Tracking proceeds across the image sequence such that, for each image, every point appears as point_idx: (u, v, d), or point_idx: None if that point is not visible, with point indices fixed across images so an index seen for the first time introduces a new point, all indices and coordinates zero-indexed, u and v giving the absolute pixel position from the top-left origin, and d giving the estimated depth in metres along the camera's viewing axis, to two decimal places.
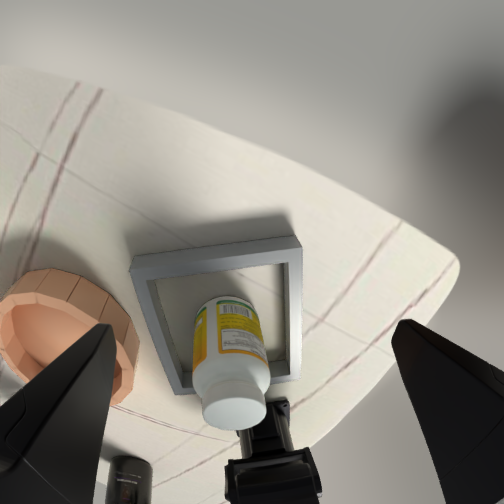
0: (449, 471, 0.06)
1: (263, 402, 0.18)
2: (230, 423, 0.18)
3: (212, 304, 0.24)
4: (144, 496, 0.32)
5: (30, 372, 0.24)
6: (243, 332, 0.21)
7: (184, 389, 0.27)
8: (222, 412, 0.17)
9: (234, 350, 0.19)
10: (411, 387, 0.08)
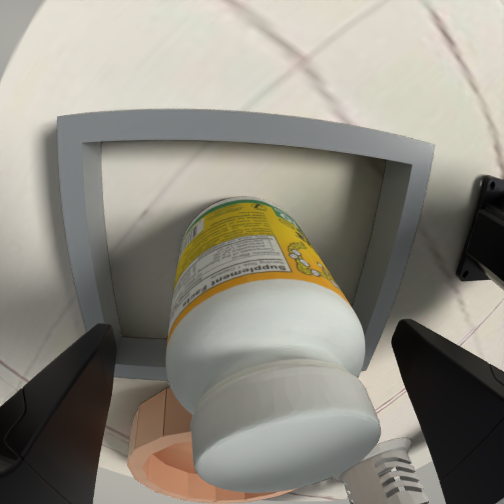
0: (449, 471, 0.06)
1: (269, 408, 0.05)
2: (328, 464, 0.06)
3: None
4: None
5: None
6: (180, 280, 0.09)
7: None
8: (263, 477, 0.06)
9: (167, 343, 0.08)
10: (411, 387, 0.08)
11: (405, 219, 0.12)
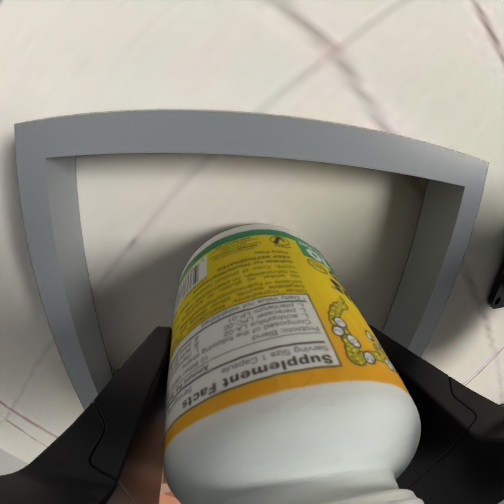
0: None
1: None
2: None
3: None
4: None
5: None
6: (178, 353, 0.06)
7: None
8: None
9: (163, 444, 0.05)
10: None
11: (451, 251, 0.09)
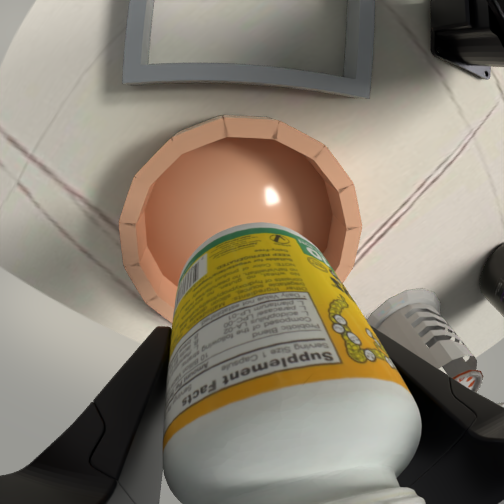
0: None
1: None
2: None
3: None
4: None
5: None
6: (177, 351, 0.06)
7: (359, 78, 0.15)
8: None
9: (163, 442, 0.05)
10: None
11: None
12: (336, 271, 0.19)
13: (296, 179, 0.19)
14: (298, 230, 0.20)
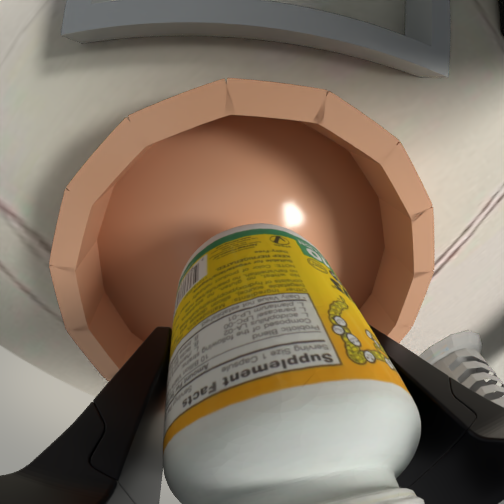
0: None
1: None
2: None
3: None
4: None
5: None
6: (178, 352, 0.06)
7: (435, 46, 0.08)
8: None
9: (163, 444, 0.05)
10: None
11: None
12: (389, 334, 0.12)
13: (338, 194, 0.12)
14: (334, 271, 0.13)
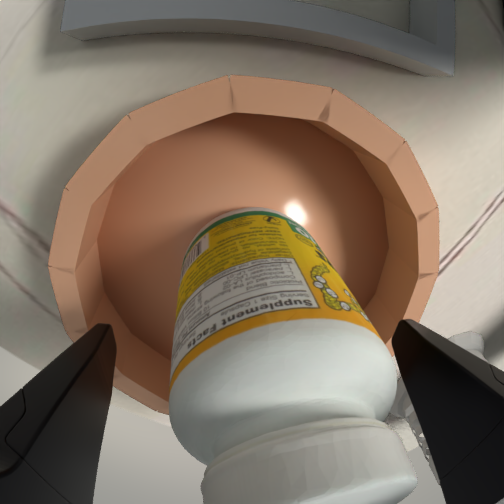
0: (449, 471, 0.06)
1: (300, 486, 0.03)
2: None
3: None
4: None
5: None
6: (183, 310, 0.08)
7: (440, 44, 0.08)
8: None
9: (170, 387, 0.06)
10: (411, 387, 0.08)
11: None
12: None
13: (342, 194, 0.12)
14: (338, 272, 0.13)
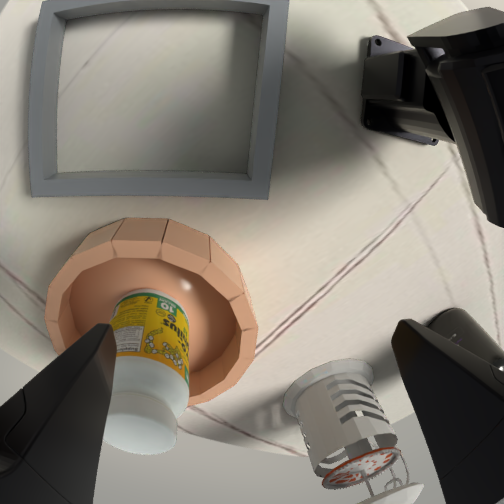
0: (449, 471, 0.06)
1: (114, 409, 0.12)
2: (155, 442, 0.13)
3: None
4: (480, 349, 0.21)
5: (189, 388, 0.22)
6: None
7: (256, 178, 0.17)
8: (128, 442, 0.12)
9: None
10: (411, 387, 0.08)
11: (270, 42, 0.14)
12: (236, 362, 0.20)
13: (197, 279, 0.20)
14: (204, 321, 0.21)
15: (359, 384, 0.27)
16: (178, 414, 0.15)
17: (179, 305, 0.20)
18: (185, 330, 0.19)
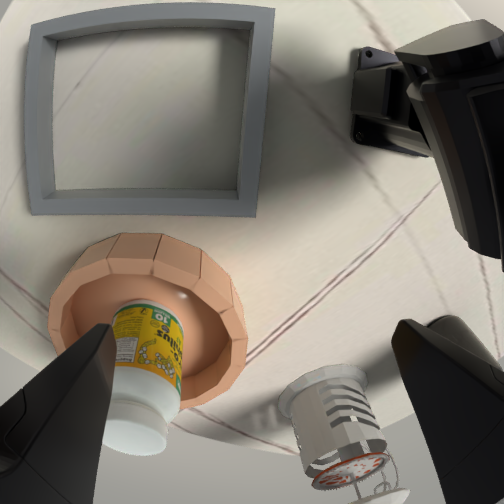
0: (449, 471, 0.06)
1: (109, 416, 0.13)
2: (147, 444, 0.14)
3: None
4: None
5: (185, 392, 0.23)
6: None
7: (243, 197, 0.17)
8: (123, 444, 0.14)
9: None
10: (411, 387, 0.08)
11: (255, 61, 0.14)
12: (228, 369, 0.21)
13: (190, 290, 0.21)
14: (198, 329, 0.22)
15: (352, 388, 0.28)
16: (170, 419, 0.16)
17: (173, 315, 0.21)
18: (179, 339, 0.20)
